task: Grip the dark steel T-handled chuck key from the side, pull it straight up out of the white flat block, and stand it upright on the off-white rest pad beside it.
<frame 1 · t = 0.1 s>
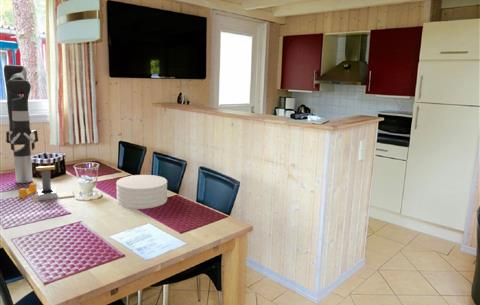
hand: (23, 150, 191), 29 cm above the table, tool pointing down, fingers open, 8 cm apart
rest pad: (65, 197, 207), resting on pale flat board
white flat block: (47, 200, 202), resting on pale flat board
plate stack: (142, 200, 210), on the table
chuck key: (47, 197, 202), point 1 cm above the table, touching pale flat board
pale flat board: (53, 199, 204), on the table
orange irregular block: (26, 197, 206), on the table
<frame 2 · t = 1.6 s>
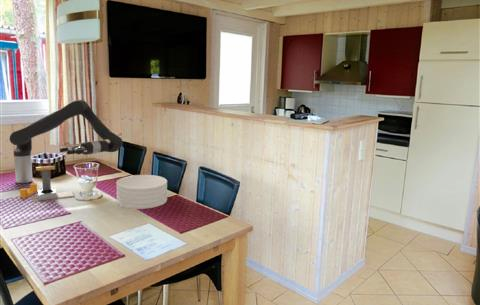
hand: (63, 151, 205), 26 cm above the table, tool horizontal, fingers open, 8 cm apart
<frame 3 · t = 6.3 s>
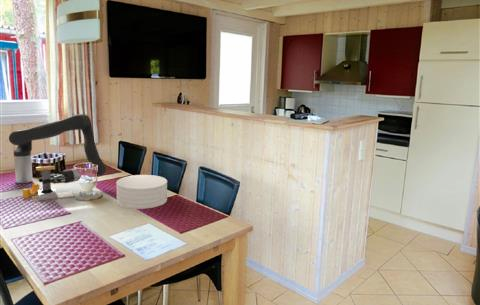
hand: (41, 181, 198), 11 cm above the table, tool horizontal, fingers closed on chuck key, 4 cm apart
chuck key: (47, 197, 202), point 2 cm above the table, touching gripper, pale flat board
orange irregular block: (30, 197, 206), on the table
everything else where it was.
when the fingers open (12 cm above the table, at t = 12.6 s): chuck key stays where it is, resting on rest pad.
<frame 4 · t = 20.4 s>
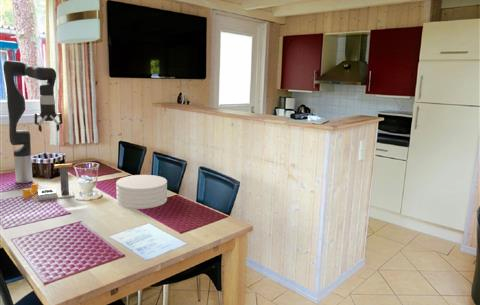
hand: (49, 131, 211), 36 cm above the table, tool pointing down, fingers open, 8 cm apart
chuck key: (65, 194, 207), point 2 cm above the table, touching rest pad
orange irregular block: (29, 198, 205), on the table, touching pale flat board
everything else where it was.
at the end: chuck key 0.1 cm off-centre on the rest pad, point 2.1 cm above the rest pad's base; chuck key tilted 1°; the gripper is holding nothing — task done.
